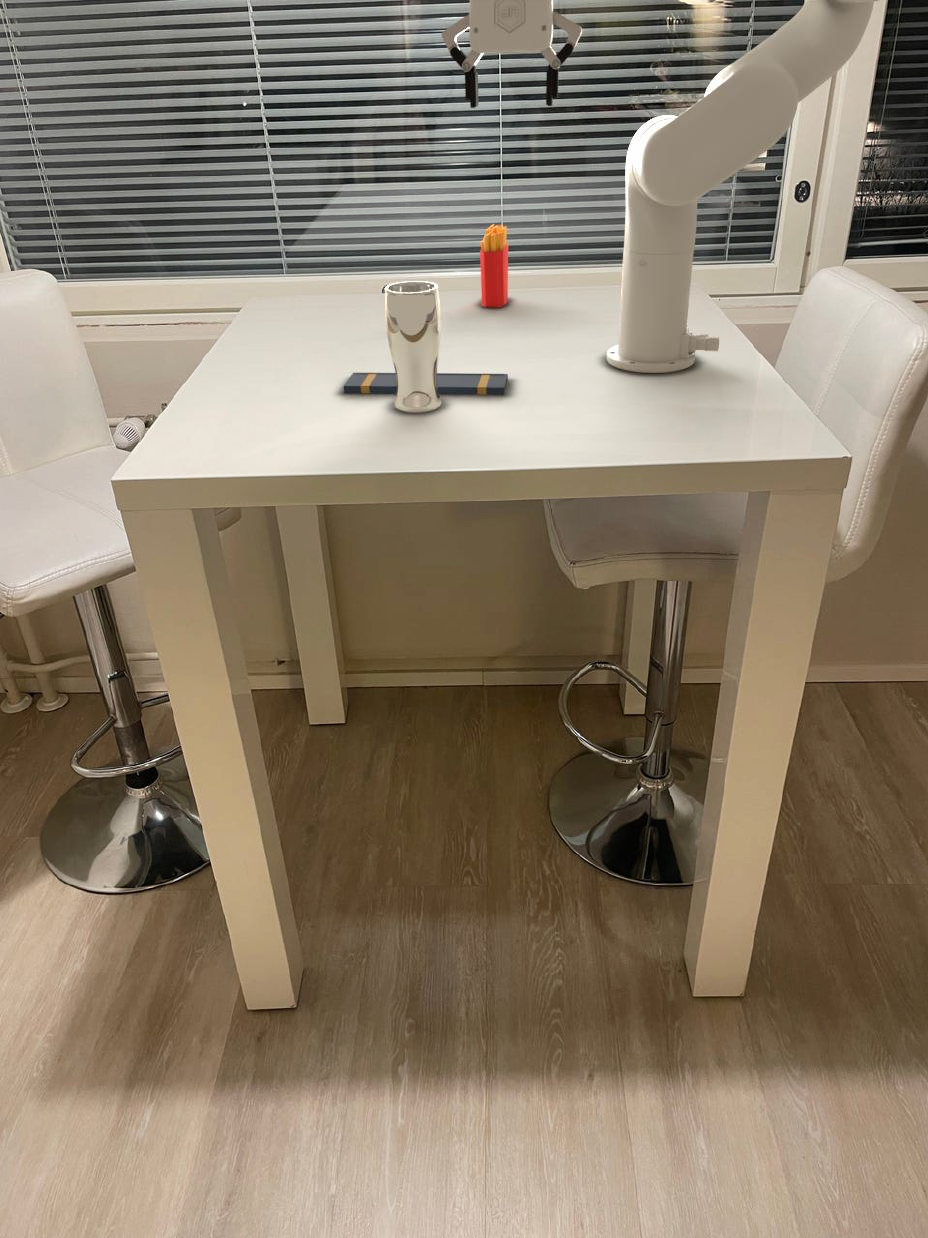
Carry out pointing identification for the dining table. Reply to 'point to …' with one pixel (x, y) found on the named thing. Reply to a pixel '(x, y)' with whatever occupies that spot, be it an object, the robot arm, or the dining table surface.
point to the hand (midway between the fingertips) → (511, 105)
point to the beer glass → (414, 343)
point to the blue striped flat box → (445, 381)
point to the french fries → (494, 267)
